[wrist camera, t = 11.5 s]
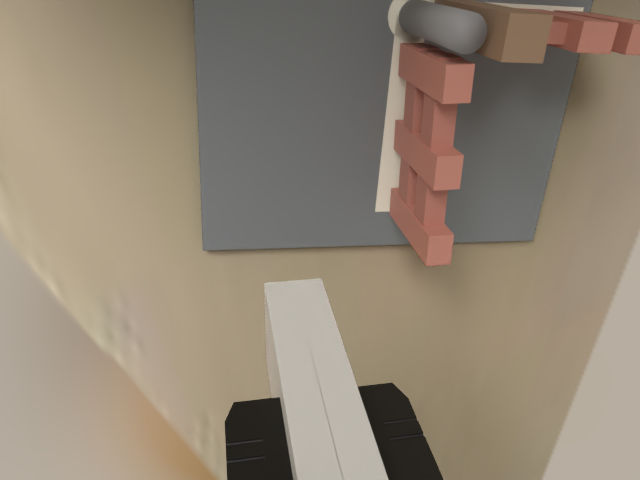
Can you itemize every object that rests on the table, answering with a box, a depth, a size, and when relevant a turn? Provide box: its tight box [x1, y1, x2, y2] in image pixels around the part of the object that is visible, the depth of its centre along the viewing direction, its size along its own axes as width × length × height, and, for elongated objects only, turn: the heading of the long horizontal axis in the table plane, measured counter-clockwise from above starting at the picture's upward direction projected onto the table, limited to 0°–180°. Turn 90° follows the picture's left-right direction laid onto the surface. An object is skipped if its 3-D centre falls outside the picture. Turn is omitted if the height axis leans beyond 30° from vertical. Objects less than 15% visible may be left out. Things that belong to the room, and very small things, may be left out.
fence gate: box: [389, 0, 487, 266], centre depth 31 cm, size 13×2×7 cm, turn 0°
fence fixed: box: [434, 0, 640, 64], centre depth 29 cm, size 9×2×9 cm, turn 87°
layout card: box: [194, 0, 593, 251], centre depth 34 cm, size 20×23×1 cm
